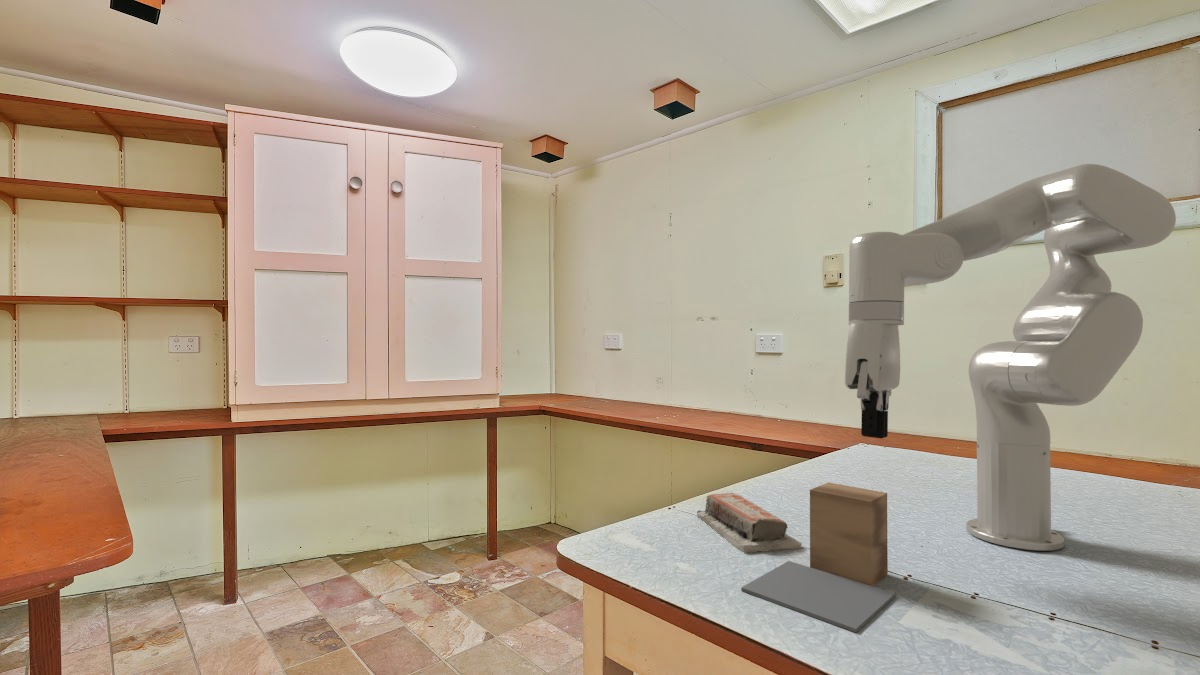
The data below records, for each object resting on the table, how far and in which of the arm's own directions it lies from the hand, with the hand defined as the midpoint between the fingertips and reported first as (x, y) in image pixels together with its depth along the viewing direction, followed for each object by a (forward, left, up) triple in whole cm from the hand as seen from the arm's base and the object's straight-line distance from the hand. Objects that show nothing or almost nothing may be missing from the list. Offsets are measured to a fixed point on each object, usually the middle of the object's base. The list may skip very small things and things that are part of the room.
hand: (874, 436), depth 83 cm
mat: (+20, 0, -17) cm, 26 cm away
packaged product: (+6, -18, -18) cm, 26 cm away
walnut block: (+11, 0, -17) cm, 20 cm away
